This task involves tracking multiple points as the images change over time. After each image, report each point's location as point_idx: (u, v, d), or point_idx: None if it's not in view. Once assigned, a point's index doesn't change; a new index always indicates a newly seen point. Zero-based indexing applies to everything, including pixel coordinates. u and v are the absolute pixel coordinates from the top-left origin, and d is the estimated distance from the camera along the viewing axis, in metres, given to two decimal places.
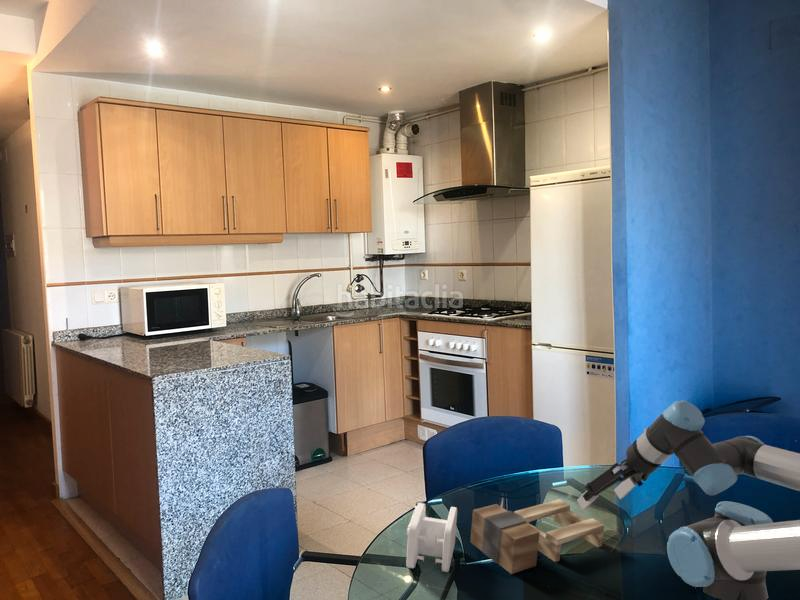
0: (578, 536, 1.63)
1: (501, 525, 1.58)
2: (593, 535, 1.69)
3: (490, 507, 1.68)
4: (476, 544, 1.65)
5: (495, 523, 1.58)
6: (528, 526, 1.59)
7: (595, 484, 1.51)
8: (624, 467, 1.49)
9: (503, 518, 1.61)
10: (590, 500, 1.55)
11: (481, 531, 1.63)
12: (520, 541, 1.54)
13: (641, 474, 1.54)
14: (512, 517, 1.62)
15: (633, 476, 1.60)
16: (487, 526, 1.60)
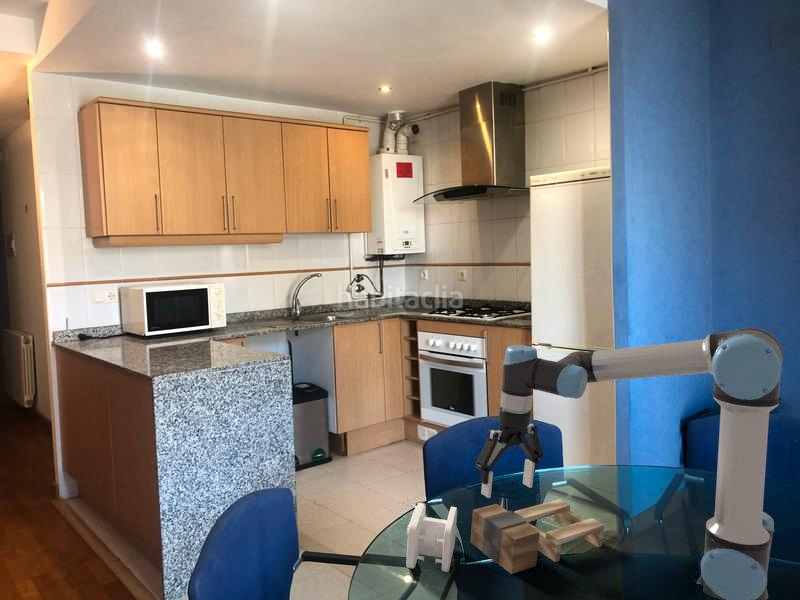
0: (578, 536, 1.63)
1: (501, 525, 1.58)
2: (593, 535, 1.69)
3: (490, 507, 1.68)
4: (476, 544, 1.65)
5: (495, 523, 1.58)
6: (528, 526, 1.59)
7: (481, 458, 1.54)
8: (499, 431, 1.55)
9: (503, 518, 1.61)
10: (488, 482, 1.55)
11: (481, 531, 1.63)
12: (521, 541, 1.54)
13: (525, 440, 1.58)
14: (512, 517, 1.62)
15: (527, 455, 1.62)
16: (487, 526, 1.60)
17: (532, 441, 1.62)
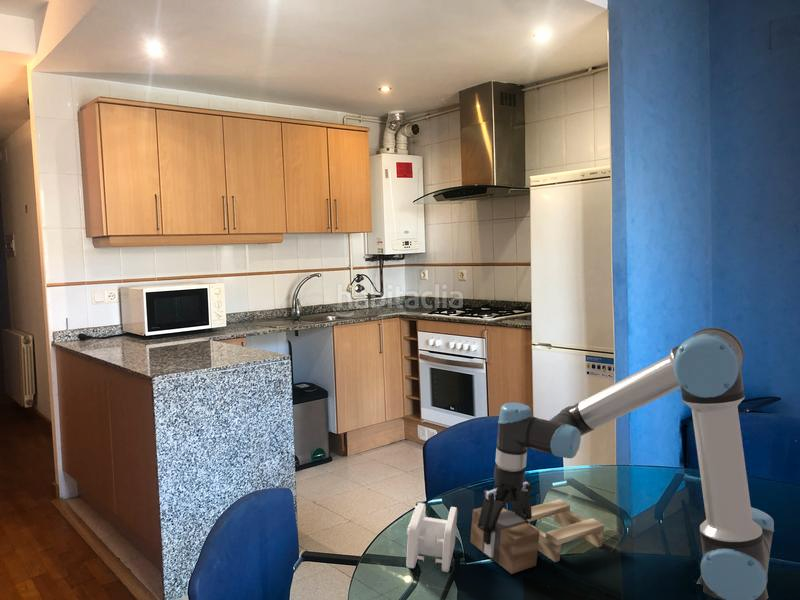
0: (578, 536, 1.63)
1: (501, 525, 1.58)
2: (593, 535, 1.69)
3: None
4: (476, 544, 1.65)
5: None
6: (528, 526, 1.59)
7: (482, 519, 1.57)
8: (494, 490, 1.57)
9: (503, 517, 1.61)
10: (491, 542, 1.58)
11: (481, 530, 1.63)
12: (521, 541, 1.54)
13: (518, 498, 1.60)
14: (512, 516, 1.62)
15: None
16: None
17: (524, 500, 1.63)
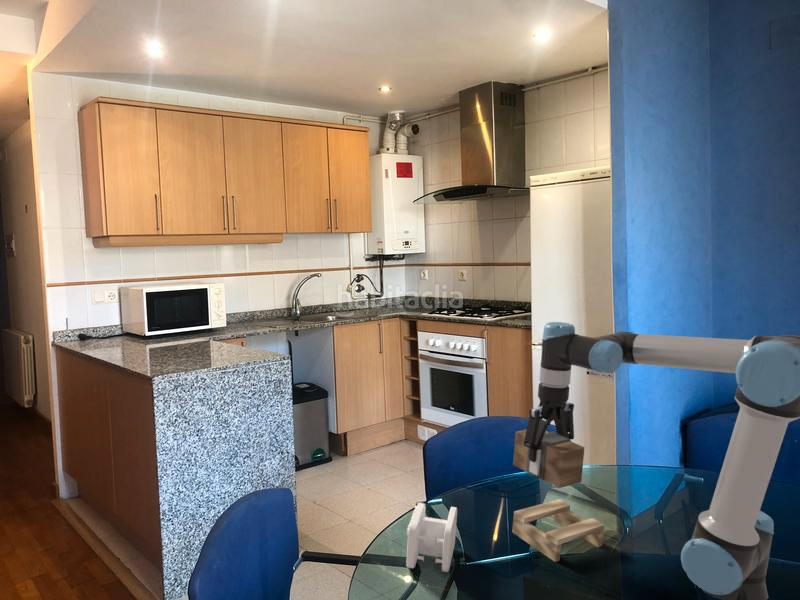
0: (578, 536, 1.63)
1: (547, 442, 1.60)
2: (593, 535, 1.69)
3: None
4: (520, 465, 1.67)
5: None
6: (572, 443, 1.61)
7: (528, 437, 1.59)
8: (540, 407, 1.59)
9: (546, 437, 1.64)
10: (537, 460, 1.60)
11: (524, 451, 1.65)
12: (567, 455, 1.56)
13: (562, 416, 1.62)
14: (556, 436, 1.65)
15: None
16: None
17: (567, 420, 1.66)
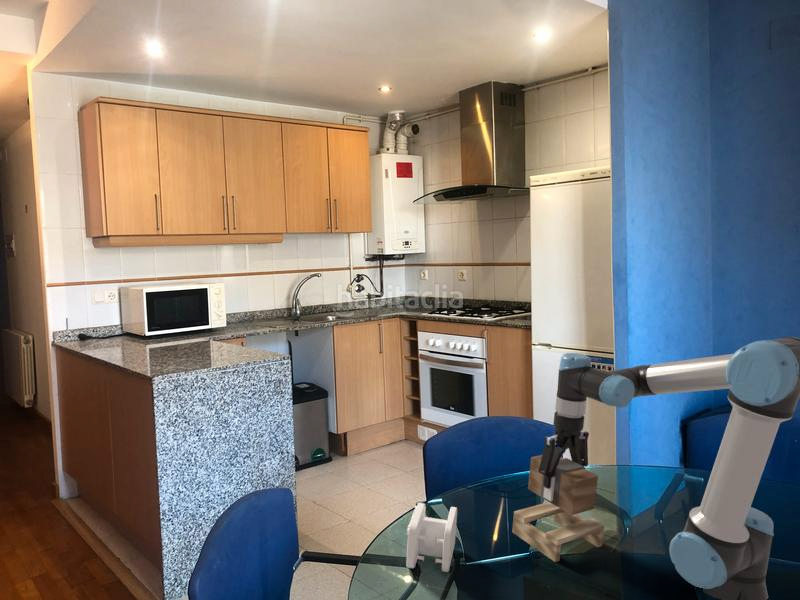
0: (578, 536, 1.63)
1: (561, 470, 1.65)
2: (593, 535, 1.69)
3: None
4: (534, 490, 1.72)
5: None
6: (586, 471, 1.66)
7: (543, 464, 1.64)
8: (555, 436, 1.64)
9: (561, 463, 1.68)
10: (551, 486, 1.65)
11: (539, 476, 1.70)
12: (581, 484, 1.61)
13: (577, 444, 1.67)
14: (570, 463, 1.69)
15: None
16: None
17: (581, 447, 1.70)
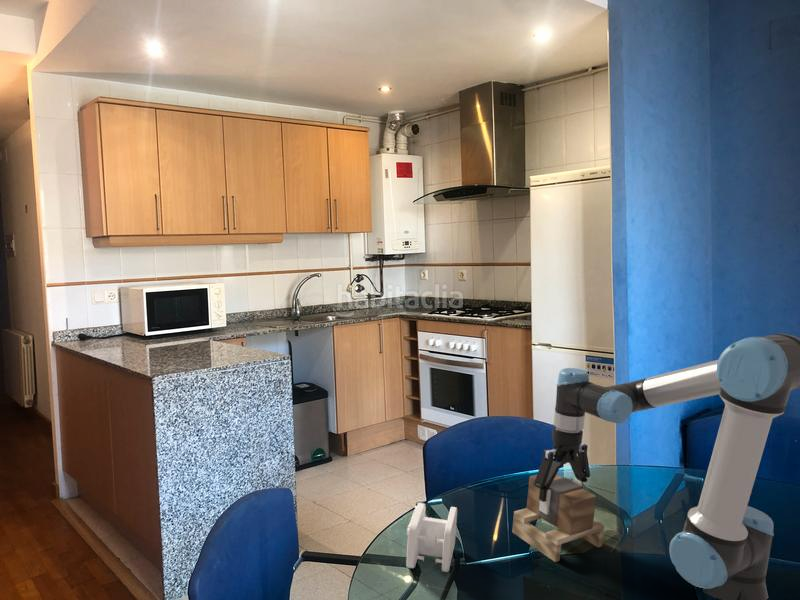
0: (578, 536, 1.63)
1: (559, 490, 1.65)
2: (593, 535, 1.69)
3: None
4: (533, 509, 1.73)
5: (553, 488, 1.66)
6: (584, 491, 1.67)
7: (539, 477, 1.64)
8: (554, 450, 1.65)
9: (559, 483, 1.69)
10: (546, 499, 1.65)
11: (538, 496, 1.71)
12: (579, 504, 1.61)
13: (576, 458, 1.67)
14: (568, 482, 1.70)
15: (576, 474, 1.71)
16: None
17: (581, 460, 1.71)
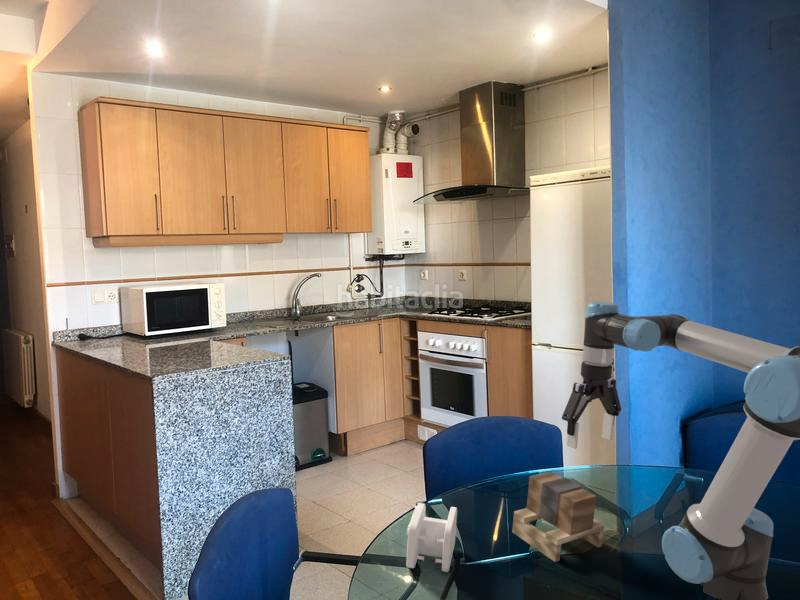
0: (578, 536, 1.63)
1: (559, 490, 1.65)
2: (593, 535, 1.69)
3: (545, 474, 1.75)
4: (533, 509, 1.73)
5: (553, 488, 1.66)
6: (584, 491, 1.67)
7: (568, 410, 1.60)
8: (584, 384, 1.62)
9: (559, 483, 1.69)
10: (575, 433, 1.61)
11: (538, 496, 1.71)
12: (579, 504, 1.61)
13: (606, 393, 1.65)
14: (568, 482, 1.70)
15: (607, 409, 1.69)
16: (545, 491, 1.68)
17: (611, 395, 1.69)
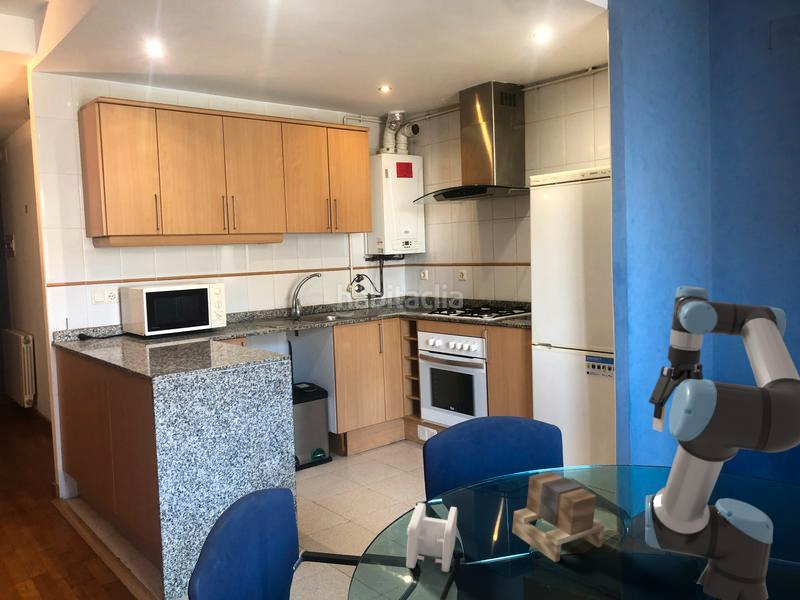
0: (578, 536, 1.63)
1: (559, 490, 1.65)
2: (593, 535, 1.69)
3: (545, 474, 1.75)
4: (533, 509, 1.73)
5: (553, 488, 1.66)
6: (584, 491, 1.67)
7: (656, 393, 1.61)
8: (672, 368, 1.62)
9: (559, 483, 1.69)
10: (662, 416, 1.62)
11: (538, 496, 1.71)
12: (579, 504, 1.61)
13: (693, 377, 1.65)
14: (568, 482, 1.70)
15: None
16: (545, 491, 1.68)
17: (697, 380, 1.69)
